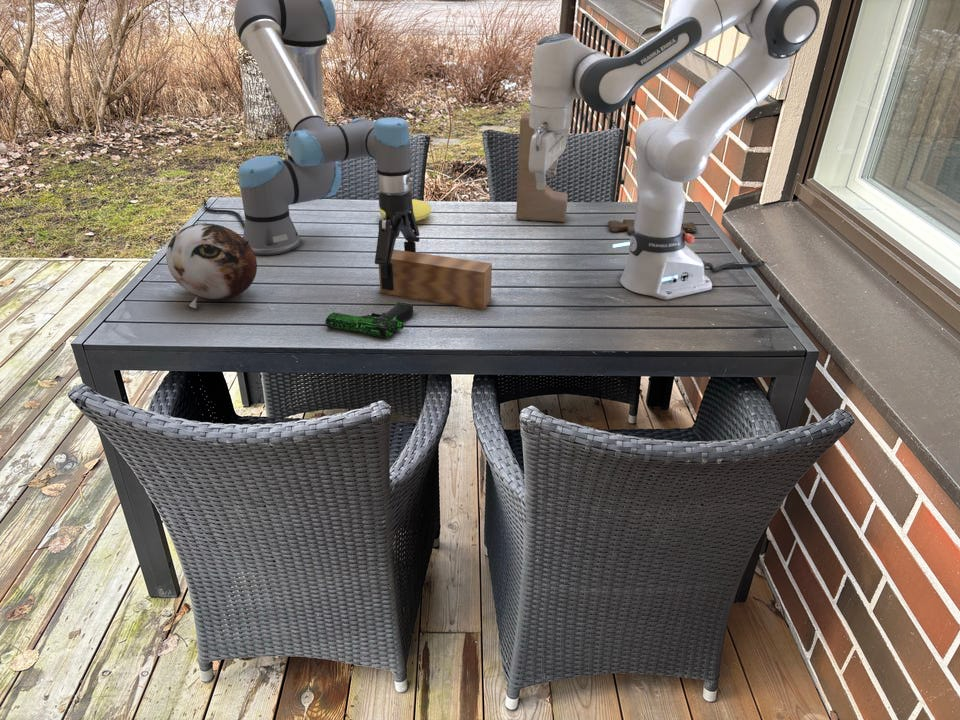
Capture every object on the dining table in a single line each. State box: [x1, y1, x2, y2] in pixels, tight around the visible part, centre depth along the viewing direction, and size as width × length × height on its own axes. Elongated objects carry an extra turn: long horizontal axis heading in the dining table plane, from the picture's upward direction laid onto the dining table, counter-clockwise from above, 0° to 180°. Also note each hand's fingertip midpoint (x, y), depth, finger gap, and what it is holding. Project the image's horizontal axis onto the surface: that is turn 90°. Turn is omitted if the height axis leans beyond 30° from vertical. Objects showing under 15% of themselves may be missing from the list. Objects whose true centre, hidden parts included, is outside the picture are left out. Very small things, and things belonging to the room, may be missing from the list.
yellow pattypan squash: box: [378, 198, 433, 222], centre depth 215 cm, size 16×16×7 cm
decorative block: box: [515, 112, 568, 223], centre depth 212 cm, size 8×15×30 cm, turn 82°
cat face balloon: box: [165, 222, 258, 309], centre depth 165 cm, size 22×18×20 cm
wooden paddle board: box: [607, 219, 697, 235], centre depth 211 cm, size 26×2×10 cm
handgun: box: [324, 301, 414, 339], centre depth 158 cm, size 16×3×15 cm
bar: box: [378, 248, 493, 310], centre depth 168 cm, size 26×6×9 cm, turn 72°
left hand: (399, 278), depth 171 cm, fingers open, 13 cm apart
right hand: (546, 182), depth 158 cm, fingers open, 8 cm apart
